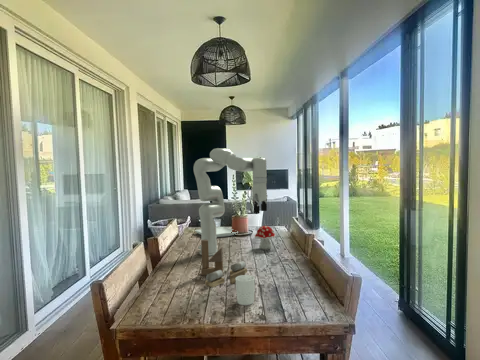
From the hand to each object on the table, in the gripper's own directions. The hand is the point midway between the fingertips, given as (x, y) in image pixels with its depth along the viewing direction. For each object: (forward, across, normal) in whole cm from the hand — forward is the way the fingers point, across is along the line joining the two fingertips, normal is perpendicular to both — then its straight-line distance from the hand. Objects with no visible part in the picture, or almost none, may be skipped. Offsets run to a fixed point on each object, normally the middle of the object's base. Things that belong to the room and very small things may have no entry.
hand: (260, 212), depth 190 cm
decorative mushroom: (+30, -35, -13) cm, 48 cm away
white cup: (+30, +48, +14) cm, 58 cm away
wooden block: (+30, +24, -17) cm, 42 cm away
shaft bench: (+30, +26, -5) cm, 40 cm away
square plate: (+31, -61, -67) cm, 96 cm away
